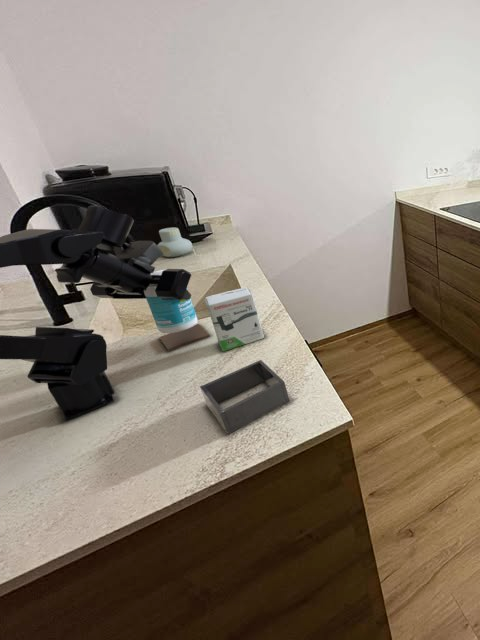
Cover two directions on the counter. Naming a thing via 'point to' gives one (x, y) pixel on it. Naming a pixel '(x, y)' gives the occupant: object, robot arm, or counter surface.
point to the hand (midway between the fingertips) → (174, 296)
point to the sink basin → (250, 406)
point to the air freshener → (173, 243)
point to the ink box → (234, 318)
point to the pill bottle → (170, 311)
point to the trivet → (184, 337)
